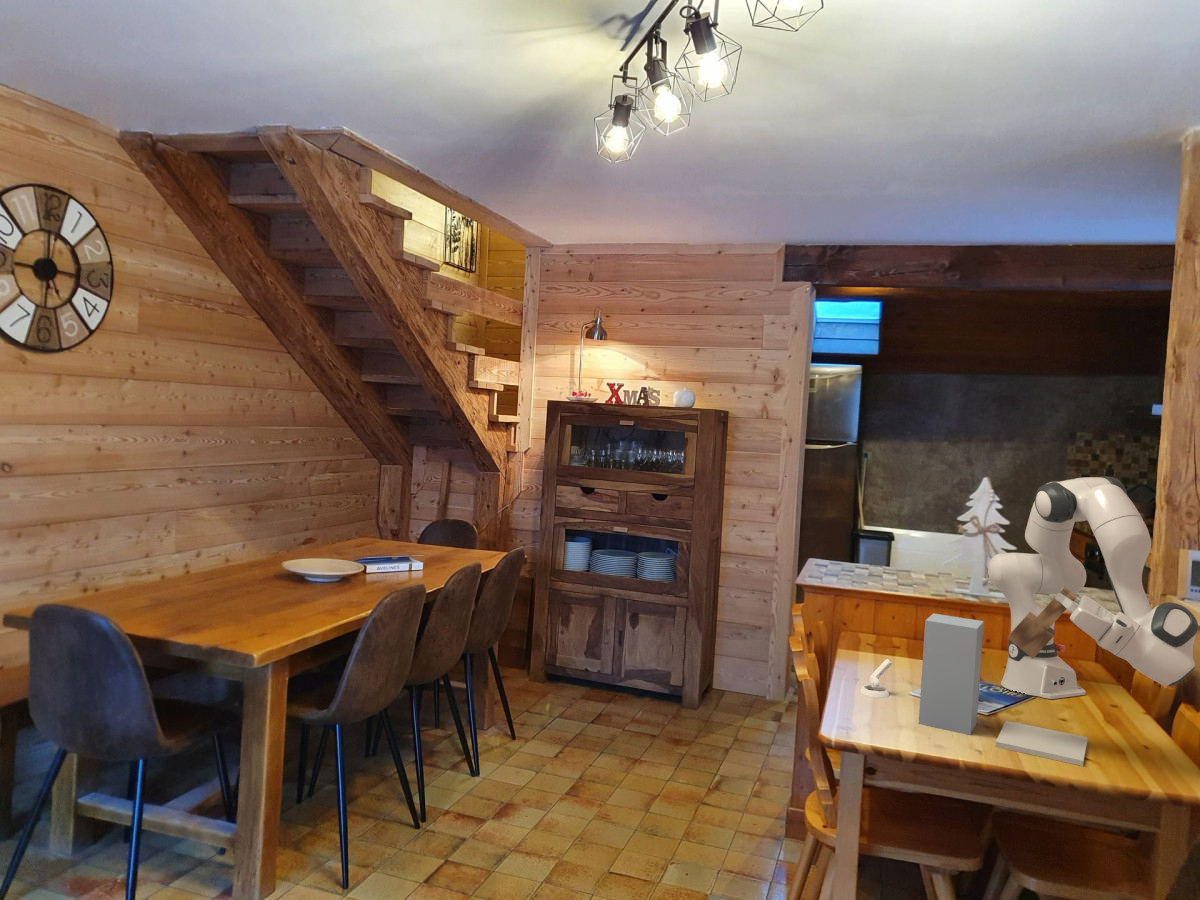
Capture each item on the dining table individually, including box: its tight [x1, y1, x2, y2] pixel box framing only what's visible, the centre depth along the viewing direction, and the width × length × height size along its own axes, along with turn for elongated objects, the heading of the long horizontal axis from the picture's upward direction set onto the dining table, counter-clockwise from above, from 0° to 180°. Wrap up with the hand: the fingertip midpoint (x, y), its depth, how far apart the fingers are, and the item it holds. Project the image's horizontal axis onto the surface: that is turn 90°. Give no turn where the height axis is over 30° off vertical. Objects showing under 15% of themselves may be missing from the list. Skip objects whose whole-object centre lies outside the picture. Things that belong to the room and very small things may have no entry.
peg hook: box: [1006, 587, 1078, 658], centre depth 208 cm, size 17×7×7 cm
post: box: [918, 612, 985, 736], centre depth 219 cm, size 12×10×26 cm
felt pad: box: [995, 720, 1089, 767], centre depth 208 cm, size 18×18×1 cm
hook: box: [860, 658, 892, 699], centre depth 240 cm, size 8×12×7 cm
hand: (1057, 593), depth 206 cm, fingers closed on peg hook, 3 cm apart
